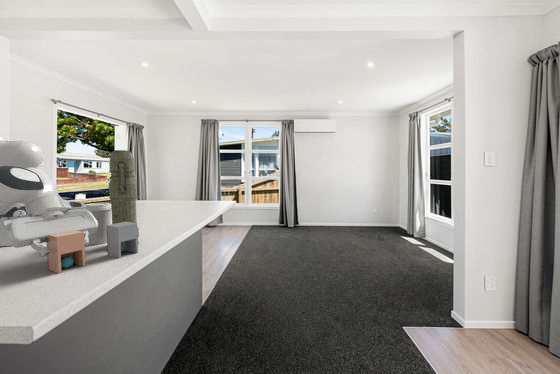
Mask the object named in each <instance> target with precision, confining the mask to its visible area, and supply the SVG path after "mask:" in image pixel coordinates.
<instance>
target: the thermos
mask: <svg viewBox="0 0 560 374" xmlns="http://www.w3.org/2000/svg"><path fill="white" fill-rule="evenodd" d="M109 157H110V158H109V173H110V180H109V182H108V190H109V191H108V194H109V196H108V197H109V198H108V199H110V205H111V224H115V223H121V222H131V223H137V224H138V222H137V198H138V189H137V188H138V186H137V184H138V183H137V182H136V179H135V174H134V173H135V160H134V159H135V157H134V156H133V153H132V151H130V150H124V149H123V150H121V149H119V150H117V149H116V150H114V151H111V154H110V156H109ZM137 231H138V238H139V235H140V233H139V232H140V231H139V227H138V226H137ZM138 244H139V241H138Z"/></svg>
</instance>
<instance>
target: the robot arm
mask: <svg viewBox="0 0 560 374" xmlns="http://www.w3.org/2000/svg"><path fill="white" fill-rule="evenodd" d="M44 156H45V155H44V152H43V150H42V148H41V147H40V146H38V145H37V144H35V143H33V142H29V141H24V140H7V139H5V138H3V136H1V135H0V247H9V246H11V247H13V248H16V249H19V248H23V247H31V249H33V250H36V251H37V252H39V253H40V255H41V257H43V256H47V255H49V253H50V249H49V247H48V246H47V245H46V246H44V245H42V244H44V243H45V244H46V237H48V236H49V235H51V234H57V233H63V232H69V231H74V230H76V231H81V232H84V247H87V246H89V245H90V244H89V239H88V234H91V233H94V232H95V231H96V229H97V227H98V222H97V220H96V219H95V217H94V216H93V214H92V213H91V212H90V211H89V210H87V209H85V207H86V205H85V204H86V203H84V202H83V201H82V202H81V201H74V200H73V201H72V200H68V199H67V200H66V199H63V198H62V197H61V195H60V194H59V191H58V187H57V186H56V184H55V183H54V181H53V180H52V178H51V177H50V176H49V175H48V173H47V172H45V171H44V170H43V169H41V168H38V167H39V166H40V165H42V164H43V162H44V158H45V157H44Z"/></svg>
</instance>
